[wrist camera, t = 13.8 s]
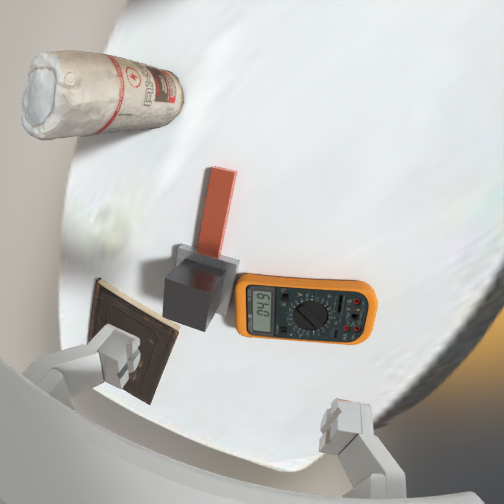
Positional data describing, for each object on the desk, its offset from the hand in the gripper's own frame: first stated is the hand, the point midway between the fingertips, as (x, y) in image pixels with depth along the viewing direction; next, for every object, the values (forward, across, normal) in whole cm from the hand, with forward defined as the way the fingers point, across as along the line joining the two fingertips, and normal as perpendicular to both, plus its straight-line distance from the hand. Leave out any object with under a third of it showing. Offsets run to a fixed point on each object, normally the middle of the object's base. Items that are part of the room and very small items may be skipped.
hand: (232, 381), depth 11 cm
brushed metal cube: (+25, +8, +13) cm, 29 cm away
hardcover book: (+26, +21, +32) cm, 46 cm away
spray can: (+27, +20, -9) cm, 35 cm away
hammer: (+27, +8, +7) cm, 29 cm away
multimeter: (+27, -6, +12) cm, 30 cm away
